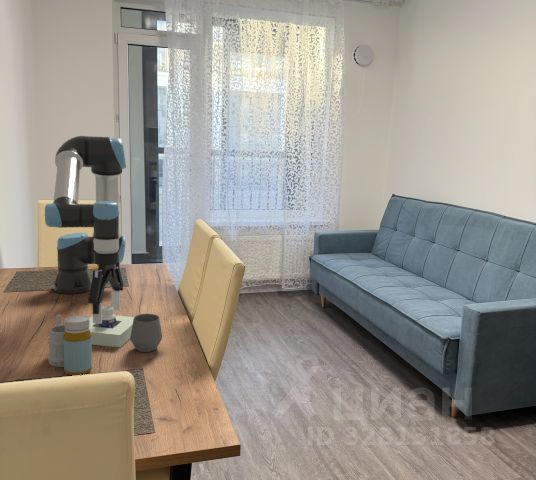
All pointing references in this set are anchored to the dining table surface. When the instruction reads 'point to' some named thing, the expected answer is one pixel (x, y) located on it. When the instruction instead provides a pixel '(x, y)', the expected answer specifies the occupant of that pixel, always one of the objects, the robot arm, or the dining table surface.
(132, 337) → the cup
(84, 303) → the dining table surface
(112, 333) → the socket block
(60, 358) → the mug
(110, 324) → the pill bottle
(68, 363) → the bottle
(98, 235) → the robot arm
